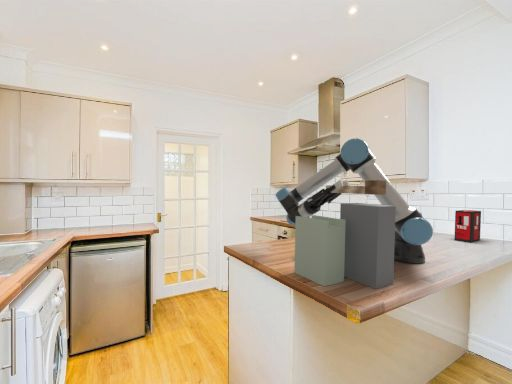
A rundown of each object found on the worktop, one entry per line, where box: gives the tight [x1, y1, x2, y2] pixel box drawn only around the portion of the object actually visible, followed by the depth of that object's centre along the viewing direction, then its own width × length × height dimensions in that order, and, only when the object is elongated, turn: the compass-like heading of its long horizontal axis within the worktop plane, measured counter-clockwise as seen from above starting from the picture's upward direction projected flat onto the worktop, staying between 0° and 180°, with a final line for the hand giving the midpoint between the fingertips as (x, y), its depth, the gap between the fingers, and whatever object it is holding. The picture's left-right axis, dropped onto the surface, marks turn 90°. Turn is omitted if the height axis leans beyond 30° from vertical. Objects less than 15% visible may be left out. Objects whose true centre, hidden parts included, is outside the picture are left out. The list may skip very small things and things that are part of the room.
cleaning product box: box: [453, 209, 482, 244], centre depth 173 cm, size 16×9×20 cm, turn 124°
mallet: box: [325, 180, 386, 196], centre depth 101 cm, size 25×5×5 cm, turn 31°
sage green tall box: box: [293, 214, 346, 287], centre depth 97 cm, size 16×10×22 cm, turn 31°
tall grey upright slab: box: [339, 202, 396, 290], centre depth 96 cm, size 16×10×28 cm, turn 31°
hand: (344, 182), depth 104 cm, fingers closed on mallet, 3 cm apart
